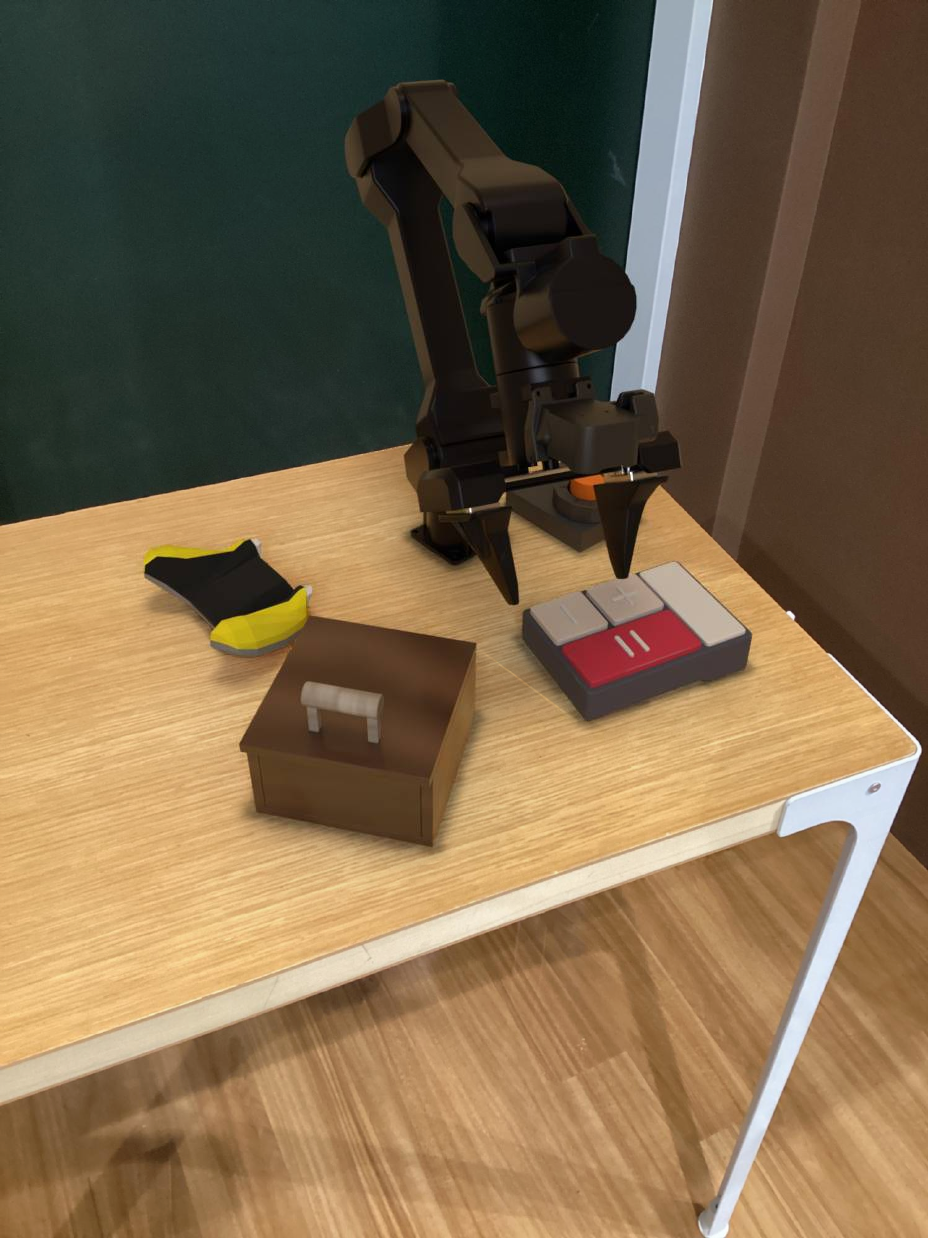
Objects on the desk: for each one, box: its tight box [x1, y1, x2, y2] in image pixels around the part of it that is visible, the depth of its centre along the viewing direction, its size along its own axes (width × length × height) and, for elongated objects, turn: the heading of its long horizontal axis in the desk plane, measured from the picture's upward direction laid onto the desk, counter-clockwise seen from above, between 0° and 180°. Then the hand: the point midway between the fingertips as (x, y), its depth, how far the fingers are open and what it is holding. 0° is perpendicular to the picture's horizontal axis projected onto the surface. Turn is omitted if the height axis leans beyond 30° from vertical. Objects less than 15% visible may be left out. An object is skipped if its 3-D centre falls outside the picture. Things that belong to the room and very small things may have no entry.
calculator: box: [521, 560, 753, 721], centre depth 86 cm, size 11×4×15 cm
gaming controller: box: [142, 537, 313, 659], centre depth 88 cm, size 15×6×10 cm
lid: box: [238, 614, 478, 788], centre depth 71 cm, size 13×13×5 cm
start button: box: [570, 475, 604, 501], centre depth 99 cm, size 4×4×2 cm
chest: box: [246, 653, 477, 848], centre depth 75 cm, size 13×13×7 cm
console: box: [504, 462, 605, 553], centre depth 101 cm, size 10×8×4 cm
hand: (569, 591), depth 76 cm, fingers open, 9 cm apart
